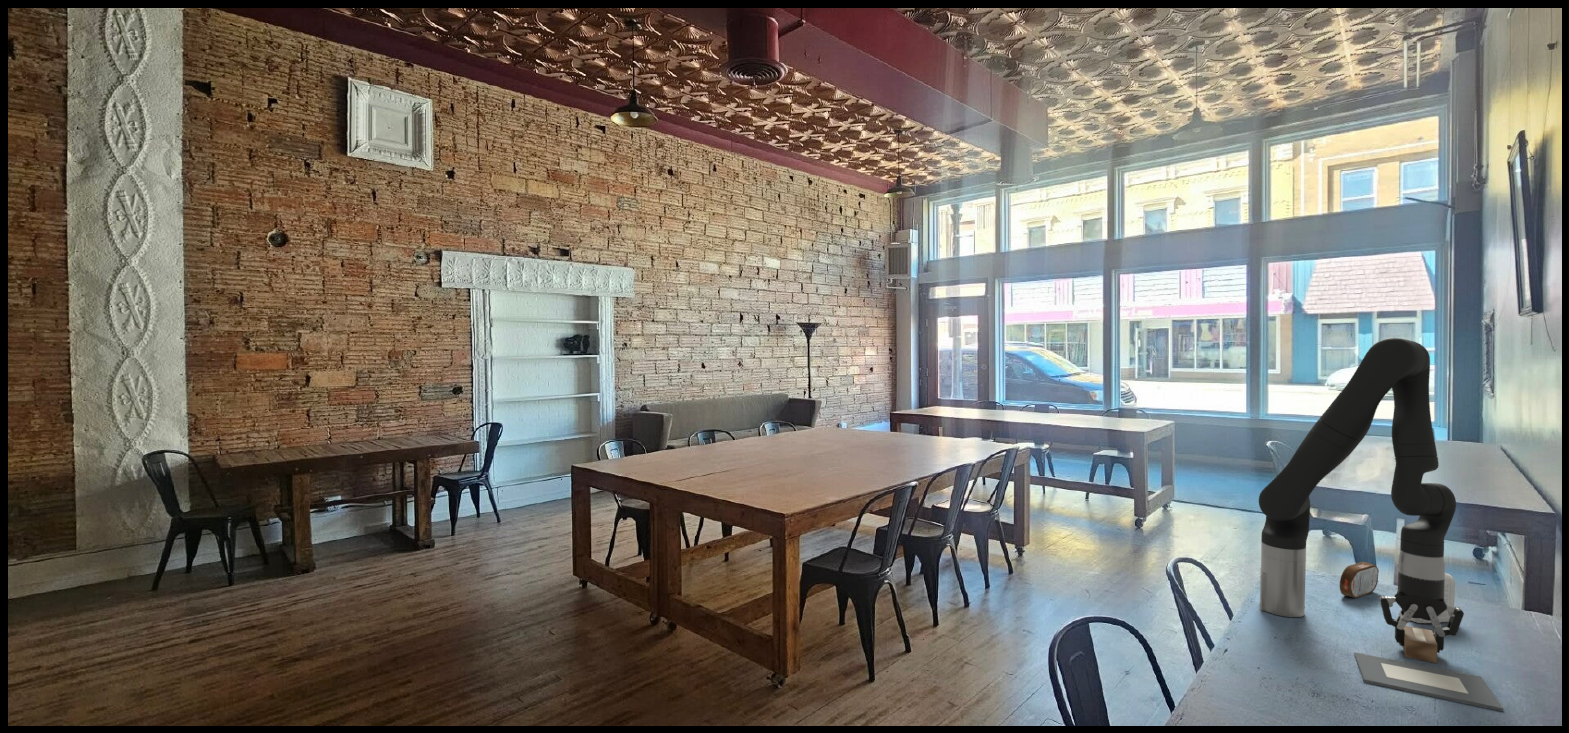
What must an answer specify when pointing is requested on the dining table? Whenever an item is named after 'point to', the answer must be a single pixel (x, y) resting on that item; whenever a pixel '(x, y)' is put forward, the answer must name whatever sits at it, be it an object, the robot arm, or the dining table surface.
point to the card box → (1420, 644)
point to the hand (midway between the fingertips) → (1418, 647)
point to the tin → (1359, 579)
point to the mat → (1427, 681)
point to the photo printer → (1448, 598)
